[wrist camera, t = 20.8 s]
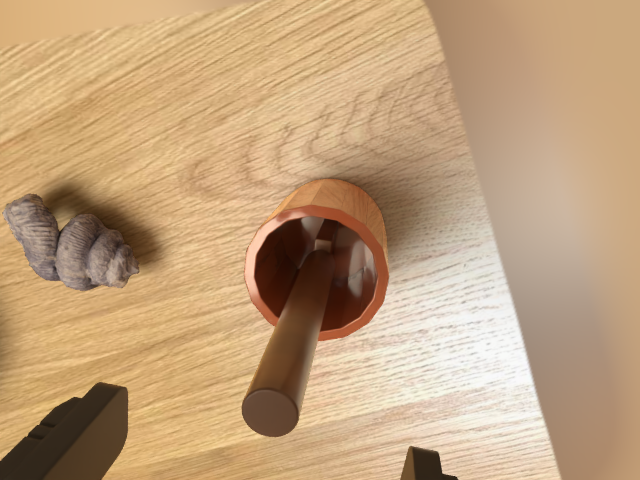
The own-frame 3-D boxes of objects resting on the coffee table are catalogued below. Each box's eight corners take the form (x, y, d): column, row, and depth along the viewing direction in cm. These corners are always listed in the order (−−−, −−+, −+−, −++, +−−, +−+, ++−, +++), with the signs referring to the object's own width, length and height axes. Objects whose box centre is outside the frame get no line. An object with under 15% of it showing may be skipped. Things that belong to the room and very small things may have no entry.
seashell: (37, 215, 35) (161, 255, 35) (-8, 273, 32) (127, 316, 32) (10, 171, 31) (152, 216, 31) (-45, 233, 28) (112, 284, 28)
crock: (282, 170, 30) (251, 194, 23) (395, 188, 30) (401, 220, 22) (270, 273, 33) (238, 326, 25) (374, 292, 32) (373, 352, 25)
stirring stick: (318, 215, 30) (245, 366, 13) (345, 219, 30) (304, 378, 13) (312, 256, 31) (236, 446, 14) (338, 260, 31) (292, 458, 14)
